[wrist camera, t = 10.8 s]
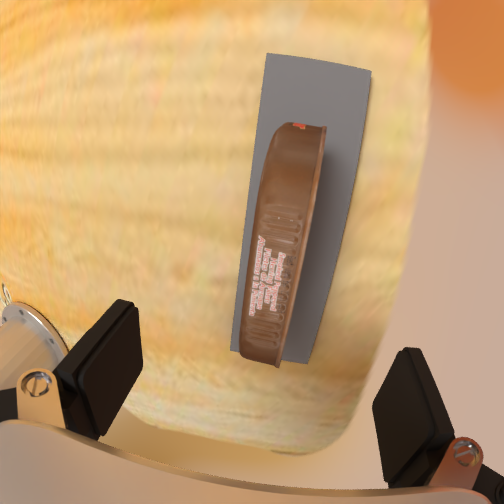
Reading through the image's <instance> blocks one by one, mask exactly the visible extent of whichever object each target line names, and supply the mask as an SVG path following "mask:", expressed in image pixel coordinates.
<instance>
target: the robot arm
mask: <svg viewBox="0 0 504 504" xmlns="http://www.w3.org/2000/svg"><path fill="white" fill-rule="evenodd" d="M2 324H3V325H2V326H1V327H0V504H504V477H503V476H501V475H500V474H498V473H497V472H495V471H493V470H492V469H490V468H489V467H487V466H485V465H484V464H482V462H483V451H482V449H481V447H480V446H479V444H478V443H477V442H475V441H474V440H473V439H470V438H468V437H459V438H455V435H454V429H453V426H452V424H451V421H450V418H449V416H448V413H447V410H446V408H445V405H444V403H443V400H442V398H441V395H440V393H439V390H438V388H437V386H436V383H435V381H434V378H433V376H432V374H431V371H430V369H429V367H428V365H427V362H426V360H425V358H424V356H423V354H422V351H421V350H420V349H419V348H410V347H405V348H404V349H403V350H402V351H399V352H398V354H397V355H396V358H395V360H394V362H393V364H392V366H391V368H390V370H389V372H388V374H387V376H386V378H385V380H384V382H383V384H382V386H381V388H380V390H379V392H378V394H377V395H376V397H375V399H374V401H373V405H372V411H373V416H374V421H375V427H376V433H377V438H378V445H379V451H380V457H381V464H382V470H383V477H384V481H385V482H388V487H389V489H363V490H335V489H311V488H297V487H285V486H275V485H267V484H259V483H252V482H246V481H239V480H233V479H228V478H223V477H218V476H213V475H208V474H203V473H199V472H194V471H190V470H186V469H182V468H178V467H175V466H171V465H167V464H163V463H160V462H156V461H153V460H150V459H147V458H144V457H141V456H138V455H135V454H132V453H129V452H126V451H123V450H120V449H117V448H114V447H111V446H108V445H106V444H103V443H100V442H98V439H99V437H100V435H101V436H104V435H105V434H106V433H107V431H108V429H109V427H110V426H111V424H112V422H113V420H114V418H115V417H116V415H117V413H118V411H119V410H120V408H121V406H122V404H123V403H124V401H125V399H126V397H127V395H128V394H129V392H130V390H131V388H132V387H133V385H134V383H135V382H136V380H137V378H138V376H139V375H140V373H141V371H142V368H143V356H142V347H141V336H140V325H139V311H138V308H137V307H135V306H134V303H133V302H129V301H125V300H121V299H118V300H116V301H115V302H114V303H113V304H112V306H111V307H110V308H109V309H108V310H107V311H106V312H105V313H104V314H103V315H102V317H101V318H100V319H99V320H98V321H97V322H96V323H95V324H94V325H93V327H92V328H90V329H89V330H88V331H87V332H86V333H85V334H84V335H83V337H82V338H81V339H80V340H79V341H78V342H77V343H76V345H75V346H74V347H73V348H72V349H71V350H70V351H69V353H68V351H67V349H66V347H65V345H64V343H63V341H62V340H61V338H60V336H59V335H58V334H57V332H56V331H55V329H54V328H53V327H52V326H51V325H50V323H49V322H48V321H47V320H46V319H45V318H44V317H43V316H42V315H41V314H39V313H38V312H37V311H36V310H34V309H33V308H31V307H30V306H28V305H26V304H24V303H20V302H12V303H10V304H9V305H8V306H7V307H5V308H4V310H3V313H2Z"/></svg>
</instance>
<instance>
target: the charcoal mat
mask: <svg viewBox="0 0 504 504" xmlns="http://www.w3.org/2000/svg"><path fill="white" fill-rule="evenodd" d="M370 80H371V71H370V70H365V69H361V68H357V67H352V66H348V65H343V64H338V63H333V62H327V61H322V60H316V59H310V58H303V57H296V56H289V55H281V54H272V53H267V55H266V62H265V70H264V77H263V85H262V92H261V100H260V107H259V115H258V123H257V130H256V138H255V146H254V154H253V162H252V170H251V178H250V186H249V194H248V202H247V210H246V218H245V226H244V234H243V243H242V251H241V259H240V268H239V276H238V285H237V293H236V302H235V311H234V319H233V328H232V337H231V346H230V351H235V352H239V332H240V324H241V315H242V306H243V298H244V289H245V282H246V274H247V266H248V258H249V251H250V244H251V237H252V229H253V223H254V215H255V208H256V202H257V196H258V190H259V185H260V180H261V175H262V170H263V166H264V162H265V158H266V155H267V151H268V148H269V145H270V142H271V139H272V137H273V135H274V133H275V131H276V130H277V129H278V128H279V127H280V126H282V125H283V124H284V123H286V122H293V123H300V124H306V125H311V126H317V127H322V126H326V127H327V131H326V139H325V147H324V154H323V159H322V165H321V171H320V178H319V183H318V189H317V195H316V201H315V207H314V212H313V217H312V222H311V227H310V232H309V237H308V242H307V247H306V252H305V257H304V262H303V266H302V271H301V276H300V281H299V285H298V290H297V294H296V299H295V303H294V308H293V313H292V317H291V321H290V325H289V330H288V334H287V337H286V342H285V346H284V350H283V354H282V358H281V360H284V361H290V362H297V363H303V364H308V361H309V358H310V354H311V351H312V348H313V345H314V341H315V338H316V335H317V331H318V328H319V324H320V321H321V317H322V314H323V310H324V307H325V303H326V300H327V296H328V292H329V288H330V285H331V281H332V277H333V273H334V269H335V265H336V261H337V257H338V253H339V249H340V245H341V240H342V236H343V232H344V227H345V223H346V218H347V214H348V209H349V204H350V200H351V195H352V190H353V185H354V180H355V174H356V169H357V164H358V158H359V153H360V147H361V141H362V135H363V129H364V123H365V116H366V109H367V102H368V95H369V88H370Z"/></svg>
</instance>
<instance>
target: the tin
mask: <svg viewBox="0 0 504 504" xmlns="http://www.w3.org/2000/svg"><path fill="white" fill-rule="evenodd" d="M326 131H327V127H326V126H322V127H317V126H311V125H306V124H300V123H293V122H286V123H284V124H283V125H282V126H280V127H279V128H278V129H277V130H276V131H275V133H274V135H273V137H272V139H271V142H270V145H269V148H268V151H267V155H266V158H265V162H264V166H263V170H262V175H261V180H260V185H259V190H258V196H257V202H256V208H255V215H254V223H253V229H252V237H251V244H250V251H249V258H248V266H247V274H246V282H245V289H244V298H243V306H242V315H241V324H240V332H239V352H240V354H241V356H242V357H244V358H246V359H249V360H253V361H257V362H261V363H266V364H270V365H274V366H275V367H277V368H279V366H280V362H281V358H282V354H283V350H284V346H285V342H286V337H287V334H288V330H289V325H290V321H291V317H292V313H293V308H294V303H295V299H296V294H297V290H298V285H299V281H300V276H301V271H302V266H303V262H304V257H305V252H306V247H307V242H308V237H309V232H310V227H311V222H312V217H313V212H314V207H315V201H316V195H317V189H318V183H319V178H320V171H321V165H322V159H323V154H324V147H325V139H326Z"/></svg>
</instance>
